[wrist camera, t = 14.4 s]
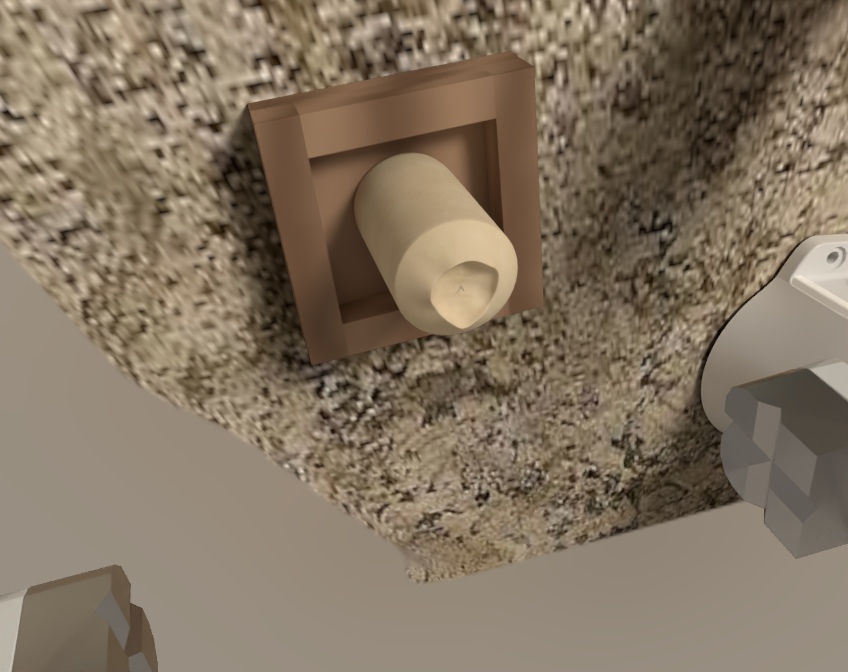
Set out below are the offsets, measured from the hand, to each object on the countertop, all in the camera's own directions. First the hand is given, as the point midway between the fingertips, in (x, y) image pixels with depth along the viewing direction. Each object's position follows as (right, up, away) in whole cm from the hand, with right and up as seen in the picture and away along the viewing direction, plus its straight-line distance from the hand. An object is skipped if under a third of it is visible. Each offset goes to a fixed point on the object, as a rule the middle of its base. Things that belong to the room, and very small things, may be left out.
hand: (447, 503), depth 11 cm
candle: (-1, +9, +31) cm, 32 cm away
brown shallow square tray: (-2, +9, +32) cm, 33 cm away
